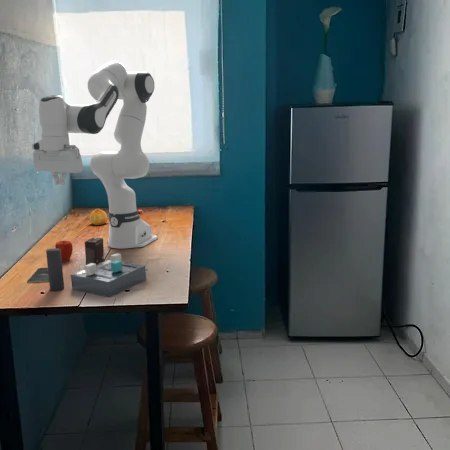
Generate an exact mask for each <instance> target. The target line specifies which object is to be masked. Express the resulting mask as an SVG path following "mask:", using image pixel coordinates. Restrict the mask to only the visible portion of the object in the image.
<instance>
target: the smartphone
mask: <svg viewBox="0 0 450 450" xmlns="http://www.w3.org/2000/svg"><path fill="white" fill-rule="evenodd" d="M48 282H49V274H48V267H40V268H37V269H36V271H35V272H33V273H32V275H31V276H30V277H29V278H28V279H27V281H26V283H27V284H34V283H35V284H36V283H37V284H39V283H48Z"/></svg>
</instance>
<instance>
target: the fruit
mask: <svg viewBox="0 0 450 450" xmlns="http://www.w3.org/2000/svg"><path fill="white" fill-rule="evenodd" d="M107 214H108V213H106V211H104V210H103V209H101V208H95V209H94V210H93V211H92V212H91V213H90V214H89V221H90V223H91V224H92V225H94V226H101V225H104V224H106V222H107V221H108V215H107Z"/></svg>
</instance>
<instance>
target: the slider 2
mask: <svg viewBox="0 0 450 450" xmlns="http://www.w3.org/2000/svg"><path fill="white" fill-rule="evenodd" d="M109 259H110V260H111V262H113V261H116V260H119V261H122V254H121V253H118V252H117V253H114V254H111V255H110V258H109Z"/></svg>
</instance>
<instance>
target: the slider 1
mask: <svg viewBox="0 0 450 450" xmlns="http://www.w3.org/2000/svg"><path fill="white" fill-rule="evenodd" d="M84 269H85V275H93V274H95V273H97V269H96V264H94V263H90V264H88V265H86V264H85V265H84Z"/></svg>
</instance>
